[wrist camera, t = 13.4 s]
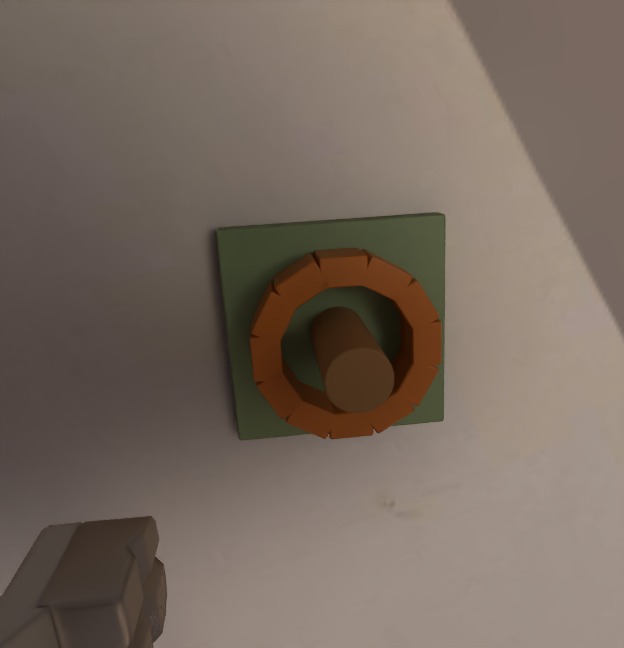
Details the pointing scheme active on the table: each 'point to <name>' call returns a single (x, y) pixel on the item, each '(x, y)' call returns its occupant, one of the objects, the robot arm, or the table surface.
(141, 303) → the table surface
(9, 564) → the table surface
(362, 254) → the ring
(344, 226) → the post
